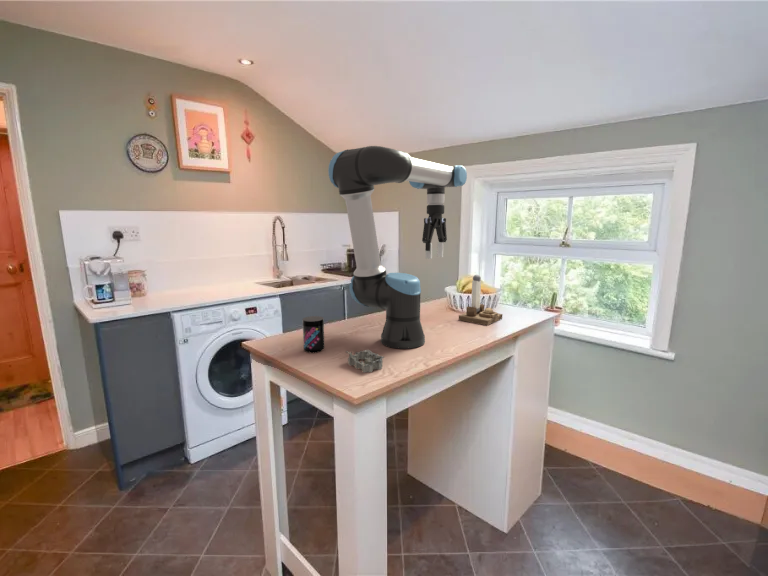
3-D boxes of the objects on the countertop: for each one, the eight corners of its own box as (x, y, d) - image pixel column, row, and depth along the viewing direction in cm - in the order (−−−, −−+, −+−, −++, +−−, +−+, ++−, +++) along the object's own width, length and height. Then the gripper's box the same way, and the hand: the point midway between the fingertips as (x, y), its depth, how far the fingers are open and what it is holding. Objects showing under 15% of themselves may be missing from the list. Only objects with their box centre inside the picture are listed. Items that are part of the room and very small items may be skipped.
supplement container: (300, 349, 123) (298, 318, 121) (318, 345, 127) (317, 315, 125) (309, 354, 118) (308, 322, 116) (328, 350, 122) (327, 319, 120)
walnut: (490, 317, 154) (491, 309, 153) (482, 316, 156) (482, 307, 156) (494, 316, 157) (494, 307, 156) (486, 314, 159) (486, 306, 158)
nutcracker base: (487, 325, 150) (488, 312, 149) (458, 320, 158) (459, 307, 157) (502, 318, 160) (503, 306, 159) (474, 313, 169) (474, 301, 168)
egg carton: (344, 364, 111) (344, 350, 110) (365, 358, 115) (365, 345, 115) (364, 375, 102) (364, 360, 102) (386, 368, 107) (386, 355, 106)
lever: (476, 314, 158) (477, 275, 155) (469, 313, 160) (470, 274, 157) (481, 312, 161) (483, 274, 158) (474, 311, 163) (476, 273, 160)
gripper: (441, 205, 170) (440, 255, 174) (413, 204, 155) (413, 259, 159) (456, 205, 166) (454, 256, 170) (428, 203, 150) (427, 260, 154)
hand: (434, 257), depth 164 cm, fingers open, 8 cm apart
